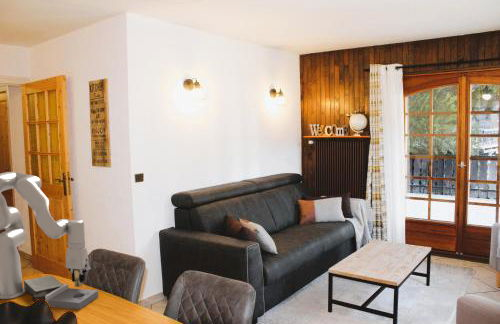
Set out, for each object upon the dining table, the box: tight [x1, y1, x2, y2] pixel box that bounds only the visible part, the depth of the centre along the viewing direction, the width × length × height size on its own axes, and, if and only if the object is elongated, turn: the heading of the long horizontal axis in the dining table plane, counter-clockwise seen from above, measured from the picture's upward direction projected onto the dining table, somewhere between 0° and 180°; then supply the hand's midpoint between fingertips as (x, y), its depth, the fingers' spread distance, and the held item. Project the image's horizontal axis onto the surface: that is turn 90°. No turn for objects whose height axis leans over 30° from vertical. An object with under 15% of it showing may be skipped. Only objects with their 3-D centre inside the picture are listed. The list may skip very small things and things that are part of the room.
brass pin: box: [74, 269, 84, 288], centre depth 211 cm, size 4×4×9 cm
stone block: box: [23, 274, 64, 301], centre depth 212 cm, size 14×20×5 cm
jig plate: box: [44, 283, 100, 310], centre depth 200 cm, size 18×14×5 cm
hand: (78, 280), depth 211 cm, fingers closed on brass pin, 3 cm apart
